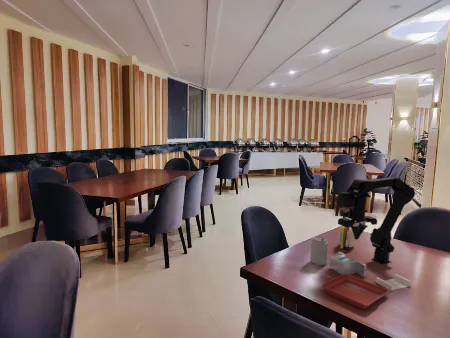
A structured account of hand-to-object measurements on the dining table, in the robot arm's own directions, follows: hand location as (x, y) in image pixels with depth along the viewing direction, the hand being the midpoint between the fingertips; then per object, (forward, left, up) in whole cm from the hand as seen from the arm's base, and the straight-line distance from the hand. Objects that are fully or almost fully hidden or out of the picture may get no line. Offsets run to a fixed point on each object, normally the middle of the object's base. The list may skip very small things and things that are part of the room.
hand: (356, 239), depth 144 cm
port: (+10, +5, -12) cm, 17 cm away
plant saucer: (+22, +23, -13) cm, 34 cm away
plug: (+8, +5, -12) cm, 15 cm away
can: (+16, -6, -12) cm, 21 cm away
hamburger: (-14, -20, -12) cm, 27 cm away
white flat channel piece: (+1, +22, -12) cm, 25 cm away
